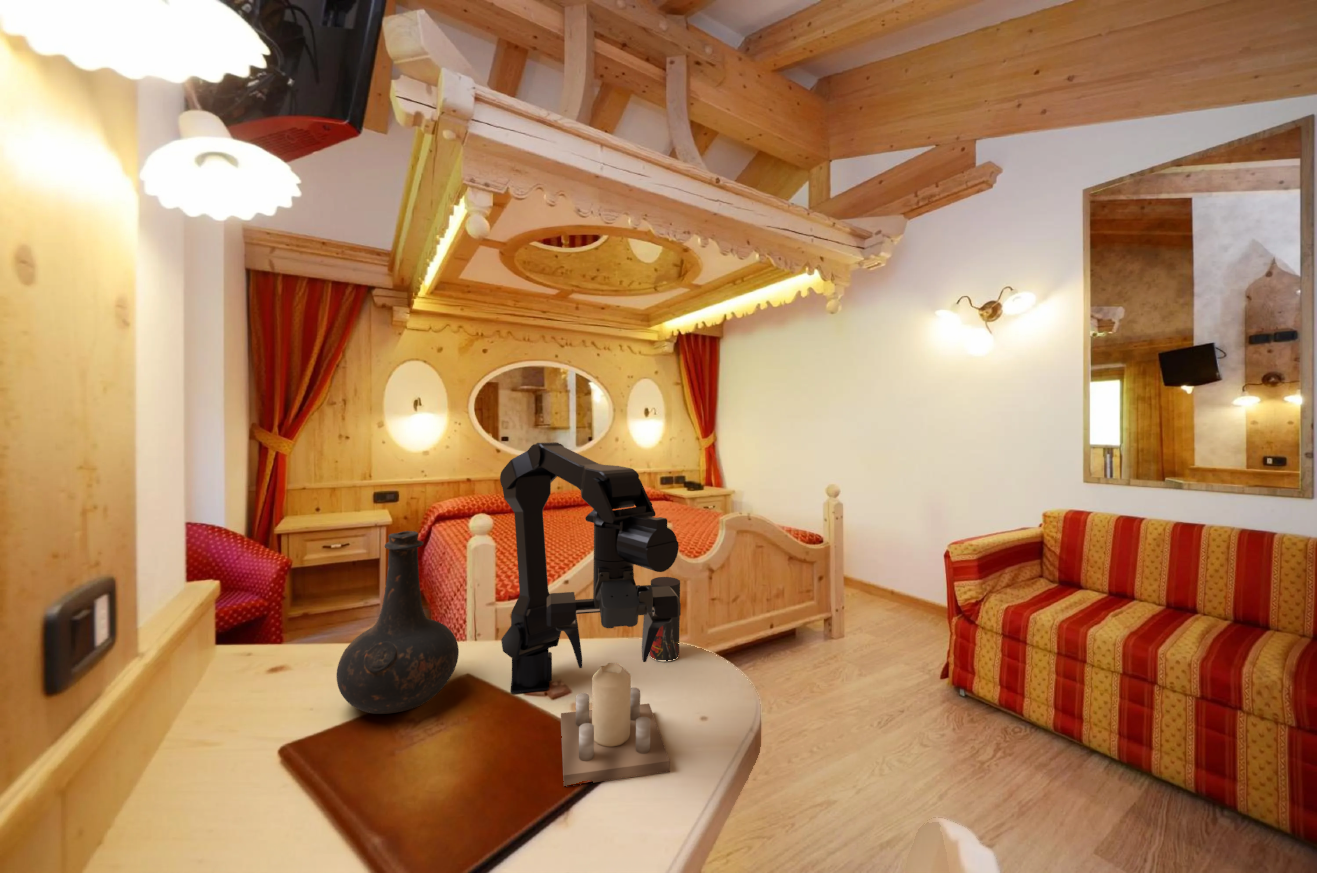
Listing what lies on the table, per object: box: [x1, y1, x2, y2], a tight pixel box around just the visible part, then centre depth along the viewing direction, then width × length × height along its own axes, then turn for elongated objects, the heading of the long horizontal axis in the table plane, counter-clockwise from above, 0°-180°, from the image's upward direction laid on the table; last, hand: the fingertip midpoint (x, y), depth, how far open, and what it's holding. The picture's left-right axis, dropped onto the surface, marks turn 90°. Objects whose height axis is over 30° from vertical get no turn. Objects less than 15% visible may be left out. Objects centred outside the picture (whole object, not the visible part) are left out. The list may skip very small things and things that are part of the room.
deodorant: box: [649, 576, 681, 661], centre depth 101 cm, size 6×6×15 cm
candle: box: [591, 662, 632, 747], centre depth 73 cm, size 6×6×10 cm
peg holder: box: [560, 687, 671, 787], centre depth 73 cm, size 14×14×6 cm
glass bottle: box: [336, 530, 460, 715], centre depth 84 cm, size 18×18×28 cm
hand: (612, 663), depth 72 cm, fingers open, 9 cm apart
